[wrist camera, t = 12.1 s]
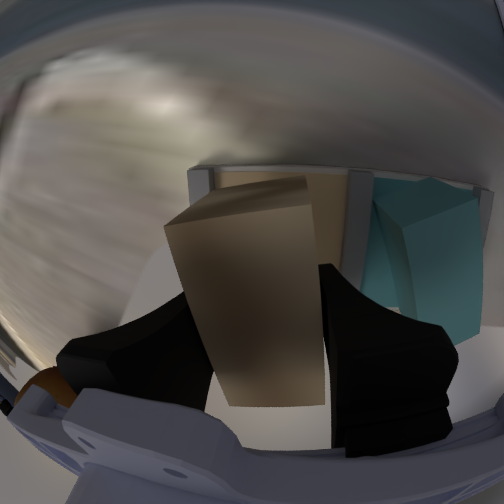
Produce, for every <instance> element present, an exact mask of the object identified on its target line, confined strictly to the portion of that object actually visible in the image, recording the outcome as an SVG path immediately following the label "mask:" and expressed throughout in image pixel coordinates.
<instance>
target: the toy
mask: <svg viewBox="0 0 504 504" xmlns="http://www.w3.org/2000/svg"><path fill="white" fill-rule="evenodd" d="M0 403H1V404H0V410H1V411H2V412H3V414H4V415H5V416H8V415H9V414H10V412H11V411H12V410H13V408H12V407H11V404H10V403H9V402H8V401H6V400H3V401H2V402H1V401H0Z"/></svg>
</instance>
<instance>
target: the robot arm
mask: <svg viewBox="0 0 504 504" xmlns="http://www.w3.org/2000/svg"><path fill="white" fill-rule="evenodd" d="M495 2H496V5H497V8H498V11H499V14H500V17H501V20H502V24H503V28H504V0H495ZM318 270H319V281H320V293H321V307H322V323H323V337H324V342H325V347H326V353H327V359H328V365H329V372H330V390H331V449H321V450H300V451H268V450H267V451H266V450H256V449H251V448H245V447H242V446H241V444H240V442H239V440H238V438H237V436H236V435H235V434H234V433H233V432H232V430H230V429H229V428H228V427H227V426H226V425H225V424H224V423H223V422H222V421H221V420H219V419H217V418H215V417H213V416H211V415H209V414H207V413H205V412H204V410H205V405H206V400H207V395H208V391H209V386H210V382H211V378H212V375H213V372H214V369H213V367H212V364H211V362H210V360H209V357H208V355H207V352H206V350H205V347H204V345H203V342H202V339H201V337H200V334H199V332H198V329H197V326H196V324H195V321H194V318H193V315H192V313H191V310H190V307H189V304H188V302H187V299H186V296H185V293H184V291H183V292H182V293H181V294H179V295H178V296H176V297H175V298H173V299H172V300H170V301H168V302H167V303H166V304H164V305H162V306H161V307H159V308H157V309H156V310H154V311H152V312H150V313H148V314H147V315H145V316H143V317H141V318H139V319H136V320H134V321H132V322H129V323H127V324H125V325H122V326H120V327H117V328H114V329H111V330H108V331H105V332H101V333H98V334H94V335H89V336H85V337H80V338H75V339H72V340H70V341H69V342H68V343H67V344H66V345H65V347H64V348H63V349H62V350H61V351H60V352H59V353H58V355H57V357H56V362H57V367H58V369H59V371H60V373H61V375H62V376H63V378H64V379H65V380H66V382H67V383H68V384H69V386H70V387H71V388H72V389H73V391H74V392H75V393H76V395H77V396H78V397H77V398H76V400H75V401H74V403H73V404H72V406H71V407H70V409H69V408H67V407H65V406H62V405H60V404H58V403H57V402H56V400H55V399H54V398H53V397H52V395H51V394H50V393H49V392H47V391H46V390H45V389H43V388H41V387H39V386H36V385H34V384H32V385H31V386H30V388H29V389H28V390H27V391H26V393H25V394H24V395H23V397H22V398H21V399H20V400H19V402H18V403H17V404H16V406H15V407H14V408H13V410H12V411H11V412H10V414H9V415H8V416H7V420H8V421H9V422H10V423H11V424H12V425H13V426H14V427H15V428H16V429H17V430H18V431H19V432H20V433H21V434H22V435H23V436H24V437H25V438H26V439H27V440H28V441H29V442H31V443H32V444H33V445H34V446H35V447H36V448H37V449H38V450H40V451H41V452H42V453H44V454H45V455H46V456H48V457H49V458H51V459H52V460H54V461H55V462H57V463H58V464H60V465H61V466H63V467H64V468H66V469H67V470H69V471H71V472H72V473H74V474H76V475H77V476H79V478H78V480H77V482H76V484H75V485H74V488H73V489H72V491H71V493H70V495H69V497H68V499H67V501H66V503H65V504H455V503H457V502H459V501H462V500H464V499H466V498H468V497H470V496H472V495H474V494H476V493H478V492H480V491H482V490H484V489H486V488H488V487H490V486H492V485H493V484H495V483H497V482H499V481H500V480H502V479H504V394H503V395H502V396H501V397H500V398H499V400H498V402H497V403H496V405H495V407H494V408H492V409H489V410H487V411H485V412H482V413H480V414H477V415H475V416H473V417H470V418H467V419H465V420H462V421H459V422H457V423H454V424H452V423H451V419H450V416H449V413H448V410H447V407H448V405H449V399H448V396H447V393H446V392H447V389H448V388H449V385H450V383H451V381H452V379H453V377H454V374H455V372H456V369H457V365H458V362H459V359H458V353H457V351H456V349H455V347H454V345H453V343H452V341H451V339H450V337H449V336H448V334H447V333H446V331H445V330H444V329H443V327H442V326H440V325H436V324H431V323H427V322H422V321H418V320H415V319H412V318H409V317H406V316H403V315H401V314H398V313H396V312H394V311H392V310H390V309H387V308H385V307H383V306H382V305H380V304H378V303H376V302H375V301H373V300H371V299H370V298H368V297H367V296H365V295H364V294H362V293H361V292H360V291H359V290H357V289H356V288H355V287H354V286H353V285H352V284H351V283H350V282H349V281H348V280H347V279H346V278H345V277H344V276H343V275H342V274H341V273H340V272H339V271H338V270H337V269H336V268H335V266H334V265H333V264H332V263H327V264H318Z"/></svg>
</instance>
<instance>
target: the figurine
mask: <svg viewBox="0 0 504 504" xmlns="http://www.w3.org/2000/svg"><path fill="white" fill-rule="evenodd" d="M32 384H34V385H36V386H39V387H41V388H43V389H45V390H46V391H47V392H49V393H50V394H51V395H52V397H53V398H54V399H55V400H56V402H57V403H58V404H60V405H62V406H65V407H67V408H69V409H70V407H71V406H72V404H73V403H74V401H75V400H76V398H77V397H78V396H77V395H76V393H75V392H74V391H73V389H72V388H71V387H70V386H69V384H68V383H67V382H66V380H65V379H64V378H63V376H62V375H61V373H60V371H59V369H58V367H57V366H53V367H50V368H47V369H44V370H42V371H40V372H39V373H37V374H36V375H35V376H34V377H32V378H31V379H30V380H29V381H28V382H27V383H26V384H25V385H24V386H23V388H22V389H21V391H20V392H19V394H18V395H17V397H16V398H15V402H14V403H15V406H16V404H17V403H18V402H19V400H20V399H21V398H22V397H23V395H24V394H25V393H26V391H27V390H28V389H29V388H30V386H31V385H32Z"/></svg>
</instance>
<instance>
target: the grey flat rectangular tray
mask: <svg viewBox="0 0 504 504" xmlns="http://www.w3.org/2000/svg"><path fill="white" fill-rule="evenodd" d="M303 175H305V176H306V181H307V186H308V191H309V196H310V201H311V207H312V215H313V223H314V231H315V240H316V249H317V259H318V264H327V263H332V264H333V265H334V266H335V268H336V269H337V270H338V271H339V272H340V273H341V274H342V275H343V276H344V277H345V278H346V279H347V280H348V281H349V282H350V283H351V284H352V285H353V286H354V287H355V288H356V289H357V290H359V291H360V292H361V293H362V294H364V295H365V296H367V297H368V298H370V299H371V300H373V301H375V302H376V303H378V304H380V305H382V306H383V307H385V308H387V309H390V310H399V306H398V301H397V296H396V291H395V286H394V281H393V276H392V272H391V267H390V263H389V259H388V255H387V251H386V247H385V243H384V239H383V236H382V232H381V228H380V225H379V221H378V218H377V215H376V211H375V208H374V205H373V202H372V198H373V197H376V196H379V195H381V194H384V193H387V192H389V191H392V190H395V189H398V188H400V187H403V186H406V185H409V184H411V183H414V182H417V181H420V180H422V179H425V178H428V177H430V176H424V175H416V174H409V173H401V172H393V171H384V170H374V169H363V168H350V167H336V166H317V165H286V164H241V165H209V166H194V167H191V168H189V170H187V177H188V189H189V201H190V206H191V205H193V204H194V203H196V202H197V201H198V200H200V199H201V198H203V197H204V196H205V195H207V194H208V193H210V192H211V191H212V190H214V189H219V188H225V187H231V186H236V185H242V184H248V183H254V182H261V181H267V180H274V179H281V178H288V177H295V176H303ZM433 178H435V179H437V180H440V181H442V182H444V183H447V184H449V185H451V186H453V187H456V188H458V189H460V190H462V191H464V192H466V193H468V194H471V195H473V196H475V197H477V199H478V206H479V214H480V223H481V234H482V251H483V247H484V243H485V238H486V234H487V230H488V225H489V220H490V215H491V209H492V203H493V196H494V192H493V191H490V190H489V189H487V188H485V187H483V186H480V185H475V184H470V183H465V182H460V181H454V180H449V179H443V178H437V177H433Z"/></svg>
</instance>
